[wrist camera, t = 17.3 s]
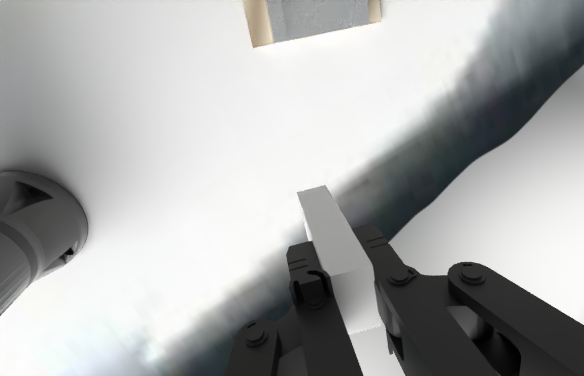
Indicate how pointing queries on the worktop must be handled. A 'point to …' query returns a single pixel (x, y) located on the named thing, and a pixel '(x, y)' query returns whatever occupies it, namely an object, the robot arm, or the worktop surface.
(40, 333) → the worktop surface
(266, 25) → the rail board
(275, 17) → the grey tray
